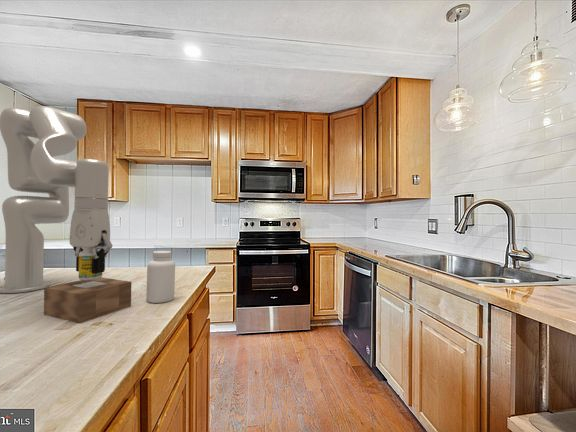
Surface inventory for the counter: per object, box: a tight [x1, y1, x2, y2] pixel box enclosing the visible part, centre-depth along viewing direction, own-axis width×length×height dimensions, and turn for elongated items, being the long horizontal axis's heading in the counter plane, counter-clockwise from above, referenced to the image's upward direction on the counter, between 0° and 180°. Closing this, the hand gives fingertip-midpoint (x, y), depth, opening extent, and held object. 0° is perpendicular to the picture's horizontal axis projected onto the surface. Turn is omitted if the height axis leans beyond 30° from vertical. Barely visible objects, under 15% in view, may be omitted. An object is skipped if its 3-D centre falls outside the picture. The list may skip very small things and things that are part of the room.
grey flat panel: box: [73, 281, 108, 289], centre depth 76 cm, size 6×6×1 cm
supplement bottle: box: [78, 244, 103, 281], centre depth 76 cm, size 5×5×10 cm
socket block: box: [43, 276, 132, 324], centre depth 76 cm, size 14×14×7 cm
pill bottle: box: [145, 250, 176, 304], centre depth 87 cm, size 8×8×15 cm
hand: (90, 271), depth 76 cm, fingers closed on supplement bottle, 5 cm apart
